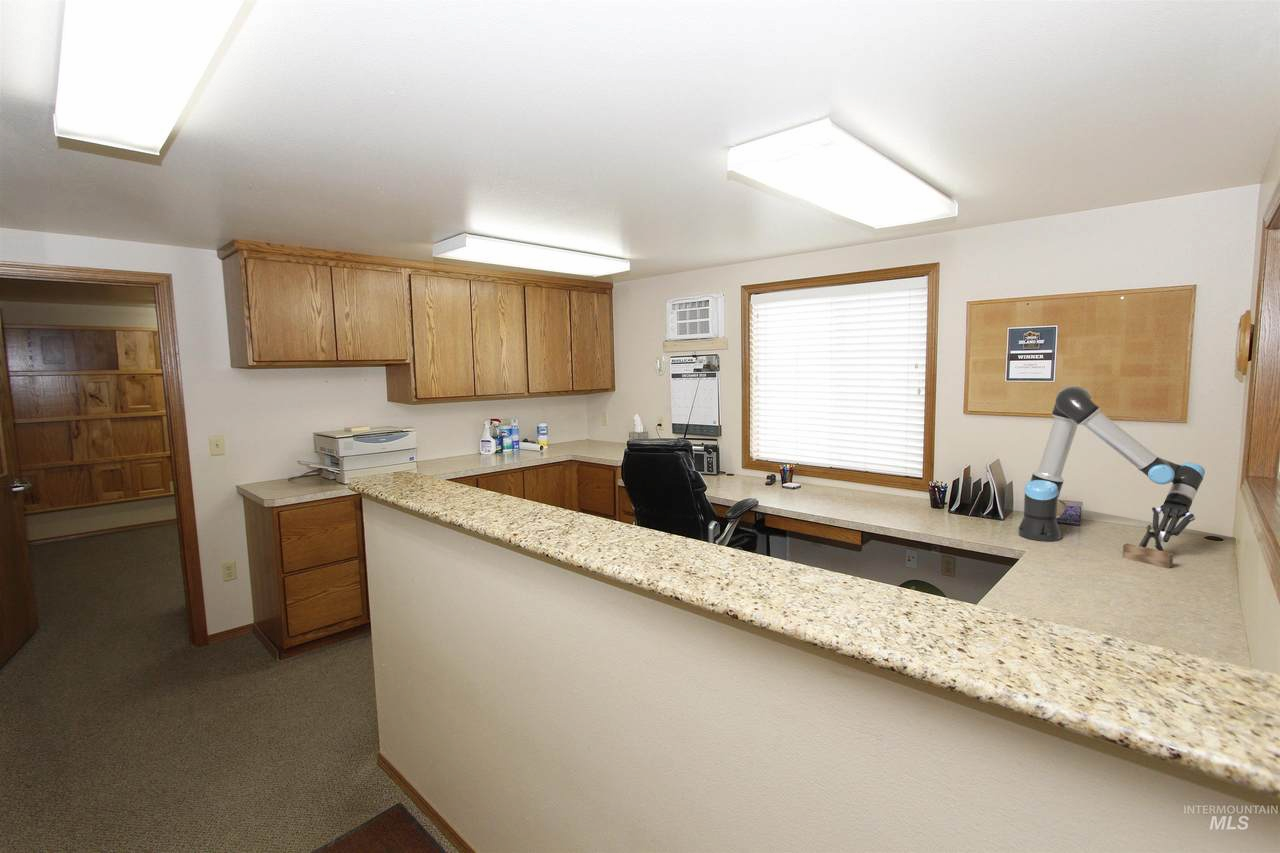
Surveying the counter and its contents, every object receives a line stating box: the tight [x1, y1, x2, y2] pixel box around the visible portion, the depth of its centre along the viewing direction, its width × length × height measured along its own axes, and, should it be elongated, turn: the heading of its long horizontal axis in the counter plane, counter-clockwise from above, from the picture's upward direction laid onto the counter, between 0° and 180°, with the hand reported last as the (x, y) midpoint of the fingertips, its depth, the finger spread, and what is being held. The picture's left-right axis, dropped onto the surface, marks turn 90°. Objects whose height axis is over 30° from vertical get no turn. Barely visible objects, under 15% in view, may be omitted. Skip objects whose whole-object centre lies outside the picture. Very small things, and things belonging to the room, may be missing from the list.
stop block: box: [1122, 543, 1174, 569], centre depth 218 cm, size 14×3×5 cm, turn 29°
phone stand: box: [1138, 524, 1165, 552], centre depth 223 cm, size 9×6×12 cm, turn 51°
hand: (1157, 547), depth 222 cm, fingers closed
